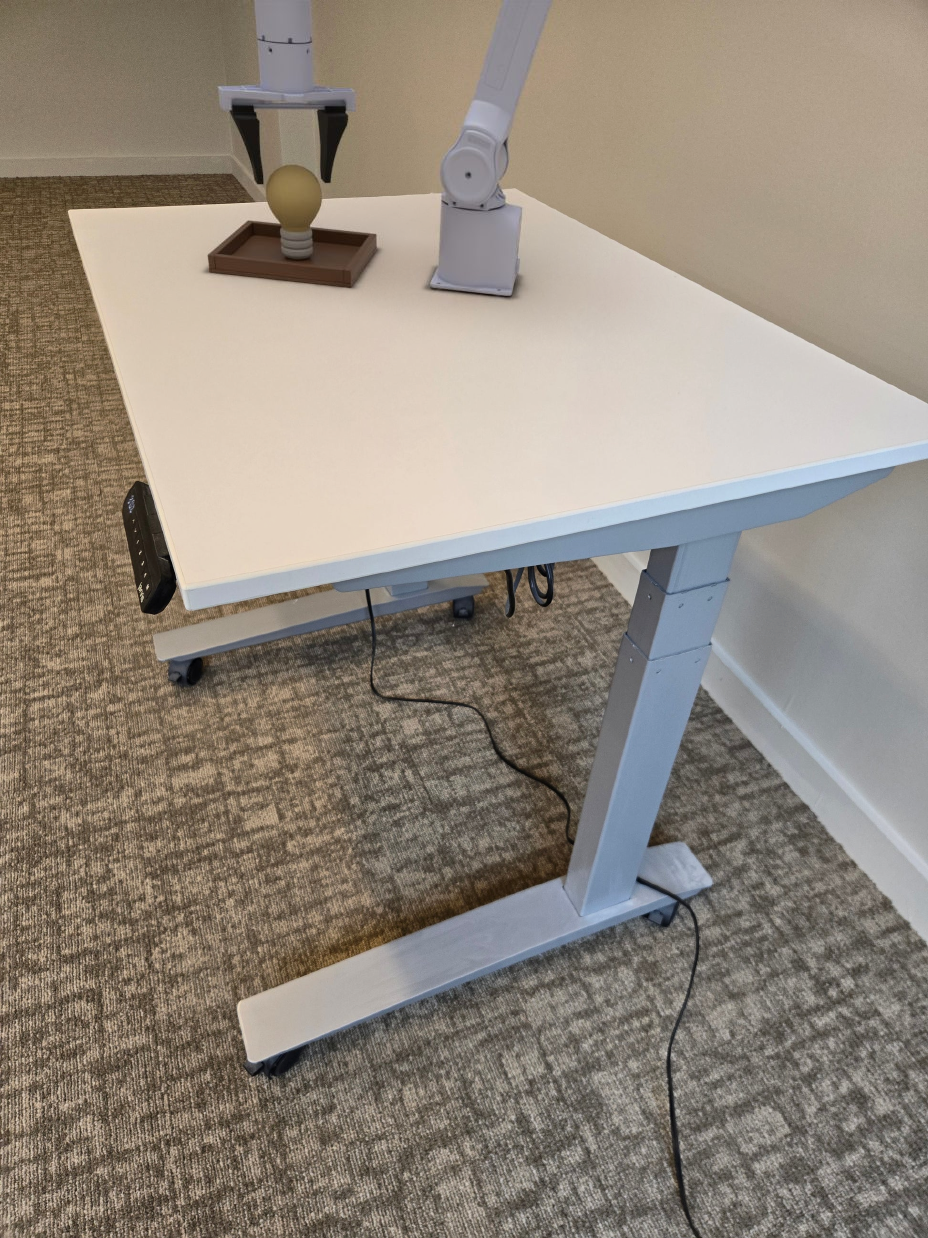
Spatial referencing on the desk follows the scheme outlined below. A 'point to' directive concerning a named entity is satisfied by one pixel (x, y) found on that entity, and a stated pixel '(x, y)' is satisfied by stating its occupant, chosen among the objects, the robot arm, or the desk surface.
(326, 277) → the tray
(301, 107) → the robot arm
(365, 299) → the desk surface
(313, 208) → the light bulb
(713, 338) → the desk surface
